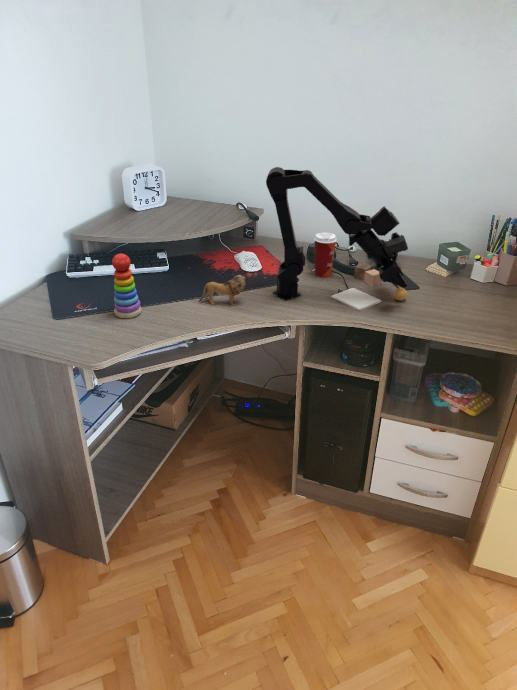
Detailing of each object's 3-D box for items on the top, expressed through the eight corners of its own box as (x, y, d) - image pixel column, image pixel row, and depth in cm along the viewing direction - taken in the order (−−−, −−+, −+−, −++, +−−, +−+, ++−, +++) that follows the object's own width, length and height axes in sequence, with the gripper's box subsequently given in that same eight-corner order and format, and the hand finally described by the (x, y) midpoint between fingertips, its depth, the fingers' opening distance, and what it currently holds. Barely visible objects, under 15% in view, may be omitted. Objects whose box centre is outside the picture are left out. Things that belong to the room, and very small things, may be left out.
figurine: (409, 305, 169) (415, 269, 163) (390, 305, 169) (395, 269, 163) (402, 294, 176) (408, 259, 170) (384, 294, 176) (388, 259, 170)
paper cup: (335, 279, 186) (338, 239, 179) (312, 278, 186) (315, 239, 179) (332, 270, 193) (336, 231, 186) (311, 269, 193) (313, 231, 186)
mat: (331, 297, 174) (331, 295, 173) (352, 289, 179) (353, 287, 179) (359, 310, 166) (359, 309, 165) (381, 302, 171) (381, 300, 171)
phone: (400, 289, 178) (380, 272, 191) (400, 292, 179) (380, 274, 191) (421, 287, 180) (400, 270, 192) (420, 290, 180) (400, 272, 193)
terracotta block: (363, 282, 184) (365, 271, 182) (372, 280, 186) (374, 269, 184) (371, 286, 181) (373, 275, 179) (380, 284, 183) (382, 273, 181)
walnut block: (354, 277, 188) (355, 266, 186) (360, 274, 190) (361, 263, 188) (364, 280, 186) (365, 269, 184) (370, 277, 188) (371, 266, 186)
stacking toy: (112, 309, 165) (104, 250, 155) (138, 305, 167) (132, 247, 158) (117, 321, 158) (109, 260, 149) (144, 316, 161) (138, 256, 152)
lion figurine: (245, 298, 173) (245, 272, 168) (246, 306, 168) (245, 278, 163) (198, 299, 172) (197, 272, 167) (198, 306, 167) (196, 279, 163)
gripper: (397, 238, 153) (431, 276, 158) (390, 218, 169) (421, 253, 174) (366, 263, 157) (399, 300, 162) (361, 241, 174) (392, 275, 178)
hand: (404, 281), depth 169 cm, fingers closed on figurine, 8 cm apart
